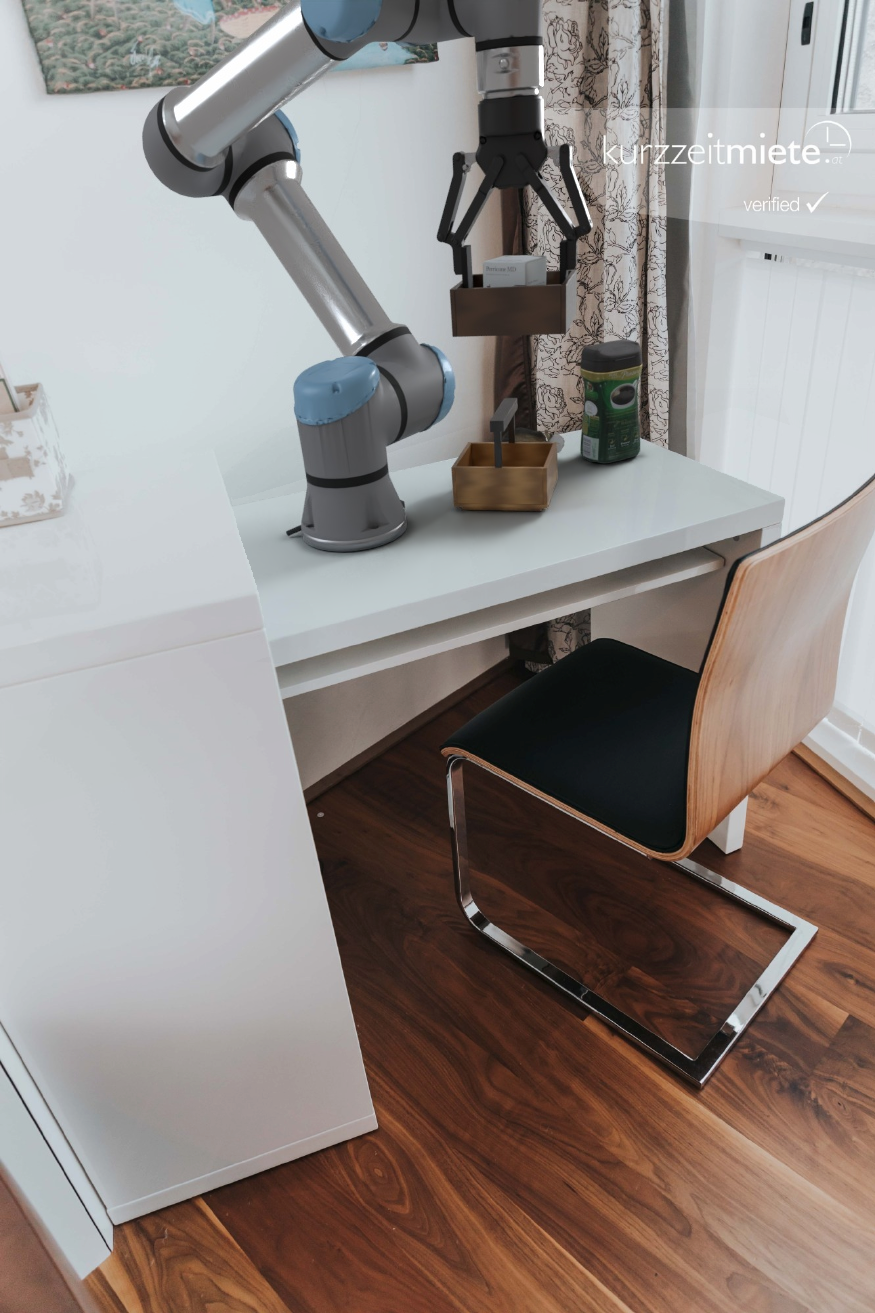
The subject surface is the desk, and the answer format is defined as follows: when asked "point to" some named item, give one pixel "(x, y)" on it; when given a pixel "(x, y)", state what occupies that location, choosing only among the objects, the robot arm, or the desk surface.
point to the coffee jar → (610, 401)
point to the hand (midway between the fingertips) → (515, 300)
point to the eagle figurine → (536, 437)
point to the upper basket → (505, 469)
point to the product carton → (514, 271)
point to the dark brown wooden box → (514, 307)
